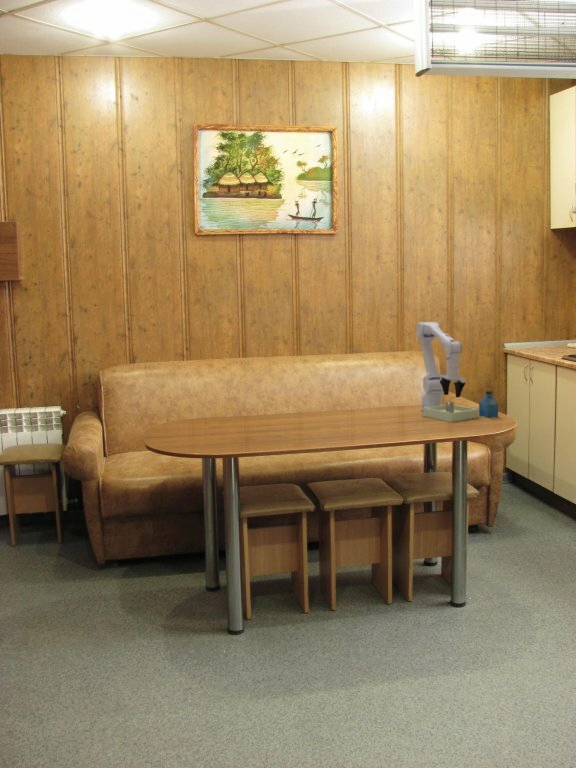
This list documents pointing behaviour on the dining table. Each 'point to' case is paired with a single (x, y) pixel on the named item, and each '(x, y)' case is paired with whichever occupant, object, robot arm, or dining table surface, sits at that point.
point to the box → (458, 414)
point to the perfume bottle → (488, 406)
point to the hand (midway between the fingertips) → (452, 396)
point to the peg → (450, 407)
